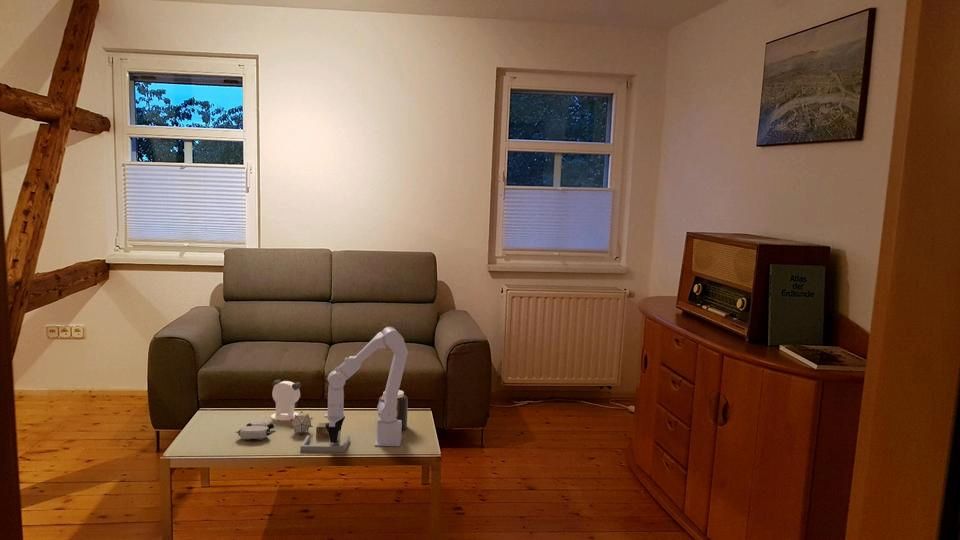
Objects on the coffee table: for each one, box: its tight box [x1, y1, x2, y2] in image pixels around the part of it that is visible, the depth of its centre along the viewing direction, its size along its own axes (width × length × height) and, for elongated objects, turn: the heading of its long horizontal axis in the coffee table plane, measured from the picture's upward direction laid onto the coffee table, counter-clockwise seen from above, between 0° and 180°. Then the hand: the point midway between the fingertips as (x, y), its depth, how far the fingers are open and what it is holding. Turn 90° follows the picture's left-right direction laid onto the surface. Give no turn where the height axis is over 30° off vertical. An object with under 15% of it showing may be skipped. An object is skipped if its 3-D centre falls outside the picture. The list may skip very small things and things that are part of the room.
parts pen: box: [300, 434, 351, 453], centre depth 227 cm, size 16×11×2 cm
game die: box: [289, 410, 314, 436], centre depth 239 cm, size 9×8×10 cm
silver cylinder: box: [328, 430, 341, 446], centre depth 226 cm, size 4×4×6 cm
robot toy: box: [234, 421, 277, 441], centre depth 234 cm, size 12×4×15 cm
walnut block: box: [315, 422, 329, 439], centre depth 237 cm, size 4×4×4 cm
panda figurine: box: [270, 379, 302, 422], centre depth 257 cm, size 12×11×15 cm
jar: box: [377, 389, 409, 433], centre depth 248 cm, size 12×12×15 cm
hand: (335, 439), depth 226 cm, fingers open, 6 cm apart
